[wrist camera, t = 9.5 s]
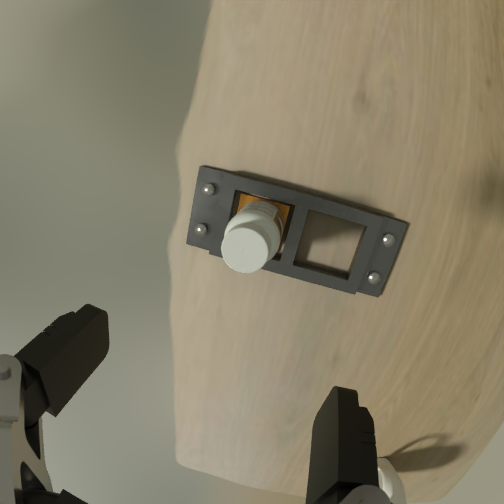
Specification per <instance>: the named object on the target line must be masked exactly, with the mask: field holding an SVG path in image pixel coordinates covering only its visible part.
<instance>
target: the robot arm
mask: <svg viewBox="0 0 504 504" xmlns="http://www.w3.org/2000/svg"><path fill="white" fill-rule="evenodd" d="M108 329H109V328H108V315H107V312H106V311H104V310H102V309H100V308H97V307H95V306H93V305H91V304H86V305H84V306H83V307H82V308H81V309H80V310H78V311H77V312H76V313H75V312H73V311H72V312H69V313H67V314H65V315H62V316H60V317H58V318H57V319H56V320H55V321H54V322H52V324H50V326H48V327H47V328H45V329H44V330H43V332H41V333H40V334H38V335H37V336H36V337H35V338H34V339H33V340H32V341H30V342H29V343H28V344H27V345H26V346H25V347H24V348H23V349H21V350H20V351H19V352H18V353H17V354H16V355H14V356H11V355H7V354H1V355H0V504H88V503H86V502H84V501H82V500H81V499H79V498H77V497H76V496H74V495H72V494H70V493H69V492H67V491H66V490H64V489H63V490H62V491H61V493H60V494H58V493H54V492H53V489H52V484H51V480H50V476H49V474H48V471H47V469H46V464H45V456H44V444H43V429H42V417H41V416H42V414H43V413H44V412H45V411H47V412H49V413H50V414H52V415H53V416H55V417H56V416H57V415H58V414H59V413H60V411H61V410H62V409H63V407H64V406H65V405H66V404H67V403H68V402H69V400H70V399H71V398H72V397H73V395H74V394H75V393H76V392H77V390H78V389H79V388H80V387H81V386H82V384H83V383H84V382H85V381H86V380H87V379H88V377H89V376H90V375H91V374H92V373H93V371H94V370H95V369H96V368H97V367H98V366H99V364H100V363H101V362H102V361H103V360H104V358H105V357H106V355H107V353H108V350H109V330H108ZM374 433H375V430H374V421H373V418H372V417H371V415H370V413H369V411H368V409H367V408H366V407H360V406H359V403H358V393H357V391H356V390H353V389H348V388H343V387H338V386H334V387H333V388H332V390H331V391H330V393H329V395H328V396H327V398H326V400H325V401H324V403H323V405H322V406H321V408H320V410H319V411H318V413H317V415H316V417H315V420H314V424H313V429H312V442H311V455H310V466H309V476H308V486H307V495H306V504H393V503H392V502H390V499H389V497H388V495H387V494H386V493H385V492H384V491H383V490H382V489H380V486H379V476H378V463H377V451H376V446H375V444H376V440H375V435H374Z"/></svg>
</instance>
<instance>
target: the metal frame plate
mask: <svg viewBox="0 0 504 504" xmlns="http://www.w3.org/2000/svg"><path fill="white" fill-rule="evenodd" d="M237 190H239V191H243V192H247V193H251V194H255V195H259V196H263V197H267V198H270V199H274V200H278V201H282V202H285V203H289V204H293V205H295V209H294V212H293V216H292V220H291V223H290V227H289V230H288V234H287V238H286V241H285V245H284V248H283V252H282V256H281V257H279V256H275V255H274V256H273V257H272V259H270V260H269V261H268V262H266V263H265V265H264V266H263V267H262V268H261V269H264V270H267V271H271V272H275V273H278V274H282V275H285V276H289V277H293V278H296V279H300V280H303V281H307V282H311V283H314V284H318V285H322V286H325V287H329V288H332V289H336V290H340V291H343V292H347V293H351V294H356V292H360V293H364V294H367V295H371V296H375V297H379V295H380V292H381V290H382V288H383V285H384V283H385V281H386V278H387V276H388V273H389V271H390V269H391V266H392V264H393V261H394V258H395V256H396V253H397V251H398V248H399V245H400V243H401V240H402V237H403V235H404V232H405V229H406V226H407V224H406V223H404V222H401V221H398V220H395V219H392V218H390V217H387V216H383V215H380V214H377V213H374V212H371V211H368V210H365V209H362V208H359V207H355V206H352V205H349V204H346V203H342V202H339V201H336V200H332V199H329V198H325V197H322V196H319V195H315V194H312V193H308V192H304V191H301V190H297V189H294V188H290V187H286V186H282V185H279V184H275V183H271V182H267V181H263V180H259V179H255V178H251V177H247V176H243V175H239V174H235V173H231V172H226V171H222V170H218V169H213V168H209V167H204V166H200V167H199V172H198V177H197V183H196V188H195V194H194V199H193V205H192V211H191V217H190V223H189V229H188V236H187V242H186V244H189V245H192V246H196V247H199V248H202V249H206V250H209V254H211V255H215V256H218V257H222V258H223V256H222V252H221V245H222V241H223V239H224V234H225V229H226V227H227V225H228V223H229V222H230V221H231V217H232V213H233V208H234V203H235V199H236V194H237ZM258 200H262V201H267V202H270V203H271V204H273V205H275V206H276V207H277V208H278V209H279V211H280V212H281V214H282V216H283V219H284V227H285V223H286V219H287V216H288V212H289V208H290V206H288V205H285V204H281V203H277V202H274V201H270V200H266V199H262V198H258V197H255V196H251V195H247V194H243V193H241V197H240V201H239V206H238V210H237V213H238V212H239V211H240V210H241V209H242V208H243V207H244V206H245V205H246V204H248V203H250V202H253V201H258ZM309 209H311V210H314V211H318V212H321V213H325V214H328V215H331V216H335V217H338V218H341V219H345V220H348V221H351V222H355V223H358V224H361V225H364V228H363V231H362V234H361V237H360V240H359V243H358V246H357V249H356V251H355V254H354V257H353V260H352V262H351V265H350V268H349V271H348V273H347V275H343V274H340V273H336V272H333V271H329V270H326V269H322V268H318V267H315V266H311V265H308V264H304V263H301V262H297V261H294V258H295V255H296V251H297V248H298V245H299V241H300V238H301V234H302V231H303V228H304V224H305V221H306V217H307V214H308V210H309ZM282 234H283V233H282ZM281 238H282V237H281ZM279 245H280V244H279ZM278 249H279V247H278ZM277 252H278V250H277Z"/></svg>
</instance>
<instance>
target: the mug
mask: <svg viewBox="0 0 504 504" xmlns="http://www.w3.org/2000/svg"><path fill="white" fill-rule="evenodd" d="M377 463H378V476H379V486H380V489H382V490H383V491H384V492H385V493H386V494H387V495H388V497H389V499H390V502H392V503H393V504H406V496H405V489H404V485H403V483H402V481H401V479H400V477H399V475H398V474H397V472H396V471H395V469H394V468H393V466H392V465H391V463H390V462H389V460H388V459H386V458H377Z"/></svg>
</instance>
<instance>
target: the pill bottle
mask: <svg viewBox="0 0 504 504" xmlns="http://www.w3.org/2000/svg"><path fill="white" fill-rule="evenodd" d="M283 230H284V219H283V216H282V214H281V212H280V211H279V209H278V208H277V207H276V206H275V205H273V204H271V203H270V202H267V201H262V200H258V201H253V202H250V203H248V204H246V205H245V206H244V207H243V208H242V209H241V210H240V211H239V212H238V213H237V214H236V215H235V216H234V217H233V218H232V219H231V221H230V222H229V223H228V225H227V227H226V229H225V234H224V239H223V241H222V245H221V252H222V256H223V259H224V260H225V262H226V263H227V265H228V266H229V267H231V268H232V269H234V270H235V271H237V272H241V273H253V272H255V271H257V270H259V269H261V268H262V267H263V266H264V265H265V263H266V262H268V261H269V260H270V259H272V257H273V256H274V255H275V254H276V252H277V250H278V247H279V244H280V241H281V237H282V233H283Z"/></svg>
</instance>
